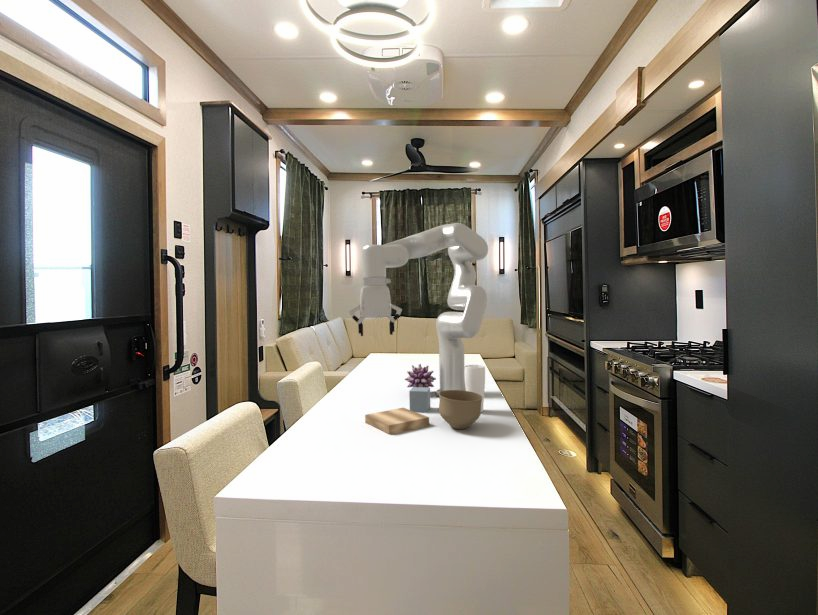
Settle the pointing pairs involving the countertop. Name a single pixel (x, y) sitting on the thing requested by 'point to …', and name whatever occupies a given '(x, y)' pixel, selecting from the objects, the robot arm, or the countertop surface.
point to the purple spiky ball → (420, 377)
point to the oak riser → (396, 420)
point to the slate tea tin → (419, 399)
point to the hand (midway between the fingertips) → (376, 334)
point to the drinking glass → (475, 380)
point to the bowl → (459, 407)
